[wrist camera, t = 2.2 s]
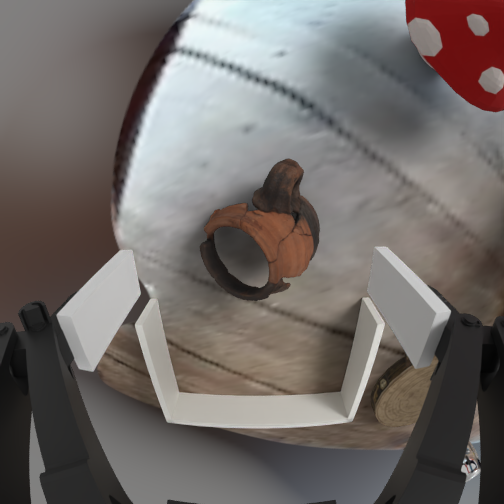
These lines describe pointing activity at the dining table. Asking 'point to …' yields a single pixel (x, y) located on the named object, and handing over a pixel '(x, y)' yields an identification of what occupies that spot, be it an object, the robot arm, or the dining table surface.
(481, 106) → the decorative mushroom
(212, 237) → the pottery mug
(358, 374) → the bin
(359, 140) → the dining table surface
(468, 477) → the beer glass
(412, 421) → the wood slice
